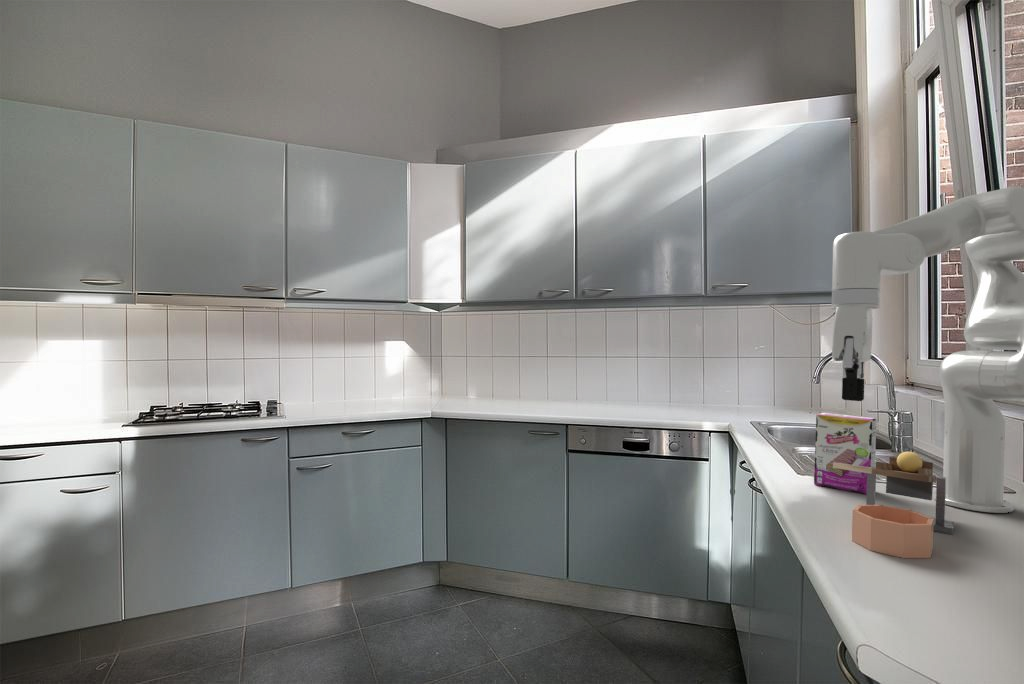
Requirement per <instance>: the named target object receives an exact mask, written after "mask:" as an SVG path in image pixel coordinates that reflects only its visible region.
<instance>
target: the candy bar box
mask: <svg viewBox="0 0 1024 684" xmlns="http://www.w3.org/2000/svg"><path fill="white" fill-rule="evenodd" d="M815 417H816V419H815V426H816V427H815V444H814V445H815V446H814V447H815V448H814V449H815V450H814V470H813V471H814V472H813V473H814V475H813V480H814V481H813V485H816V486H819V487H820V486H821V487H822V486H823V487H827V488H832V489H836V490H842V491H849V492H854V493H858V494H864V495H867V473H864V472H857V471H851V470H844V469H837V468H833V462H835V463H843V464H850V465H857V466H864V467H876V447H877V418H875V417H867V416H857V415H856V416H855V415H849V414H839V413H831V412H819V413H817V414H816V416H815Z"/></svg>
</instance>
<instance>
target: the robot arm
mask: <svg viewBox="0 0 1024 684" xmlns="http://www.w3.org/2000/svg"><path fill="white" fill-rule="evenodd" d="M963 244H964V245H965V251H966V254H967V257H968V258H969V261H970V263H971V265H972V267H973V270H974V272H975V275H976V278H977V283H978V284H977V285H978V286H977V289H976V292H975V295H974V298H973V301H972V304H971V307H970V310H969V312H968V315H967V318H966V322H965V325H964V328H963V336H964V340H965V341H966V343H967V344H968V345H969V346H970V347H971V346H972V347H973V348H977V350H974V349H971V350H960V351H959V350H958V351H956V352H953V353H951V354H949V355H947V356H945V357H944V358H943V360H942V361H941V363H940V365H939V380H940V383H941V389H942V392H943V393H942V394H943V403H944V426H943V429H944V432H943V433H944V434H943V464H942V465H943V470H942V471H943V473H942V477H946V493H945V505H947V506H951V507H954V508H959V509H963V510H969V511H974V512H981V513H993V514H1008V512H1009V513H1012V512H1014V510H1015V509H1014V504H1013V503H1011V502H1010V501H1007V500H1005V499H1004V492H1005V491H1004V488H1005V487H1004V485H1005V484H1004V482H1005V448H1006V447H1005V445H1006V444H1005V443H1006V442H1005V441H1006V439H1005V438H1006V421H1005V417H1004V415H1003V412H1002V411H1001V410H1000V408H999V407H998V406H997V405H998V404H996V403H995V401H994V400H1004V401H1014V402H1024V273H1023V272H1022V271H1021V270H1019V268H1018V267H1016V266H1015V265H1014V264H1013V262H1012V261H1021V260H1024V187H1021V186H1009V187H1005V188H1000V189H995V190H990V191H985V192H982V193H976V194H971V195H968V196H964V197H961V198H958V199H955V200H954V201H951V202H949V203H947V204H945V205H943V206H940V207H938V208H935V209H934V210H931V211H928V212H925V213H923V214H921V215H918V216H915V217H911V218H909V219H906V220H903V221H902V222H898V223H896V224H891V225H890V226H887V227H883V228H880V229H878V230H874V231H866V230H865V231H851V232H845V233H842V234H839V235H837V236H835V238H834V241H833V244H832V275H831V277H832V278H831V279H832V280H831V281H832V283H831V284H832V285H831V286H832V287H831V309H833V310H835V315H834V321H833V322H834V323H833V334H832V350H831V359H832V360H833V362H842V381H841V382H842V383H841V386H842V387H841V399H842V400H844V401H851V402H852V401H854V402H862V401H864V400H865V379H864V378H865V363H866V362H868V361H870V360H871V357H872V347H873V310H874V309H875V310H877V309H880V308H881V307H880V306H881V305H880V304H881V303H880V302H881V277H887V276H897V275H904V274H908V273H911V272H913V271H915V270H917V269H918V268H919V267H921V266H922V264H923V262H924V261H925V258H930V257H933V256H937V255H942V254H945V253H946V252H950V251H952V250H953V249H956V248H957V247H959V246H961V245H963ZM978 349H982V350H978ZM932 499H934V500H935V501H936V491H934V492H933V494H932Z"/></svg>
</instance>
